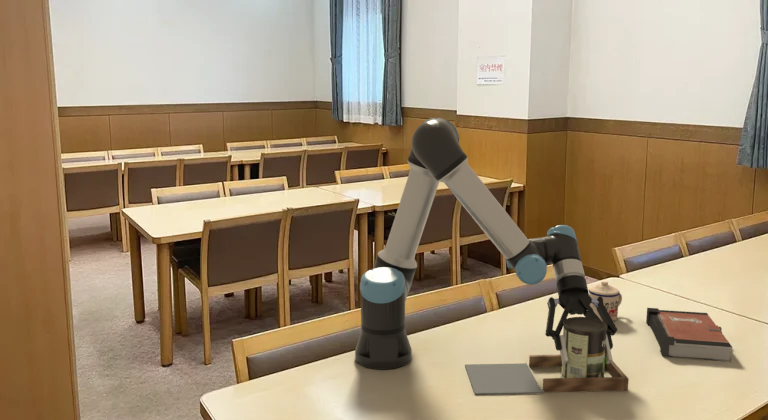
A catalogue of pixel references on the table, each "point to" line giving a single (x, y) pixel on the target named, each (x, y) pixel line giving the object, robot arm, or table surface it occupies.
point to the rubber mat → (502, 379)
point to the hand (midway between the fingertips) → (587, 362)
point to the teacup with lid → (606, 298)
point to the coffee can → (584, 347)
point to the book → (688, 335)
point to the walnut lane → (579, 384)
